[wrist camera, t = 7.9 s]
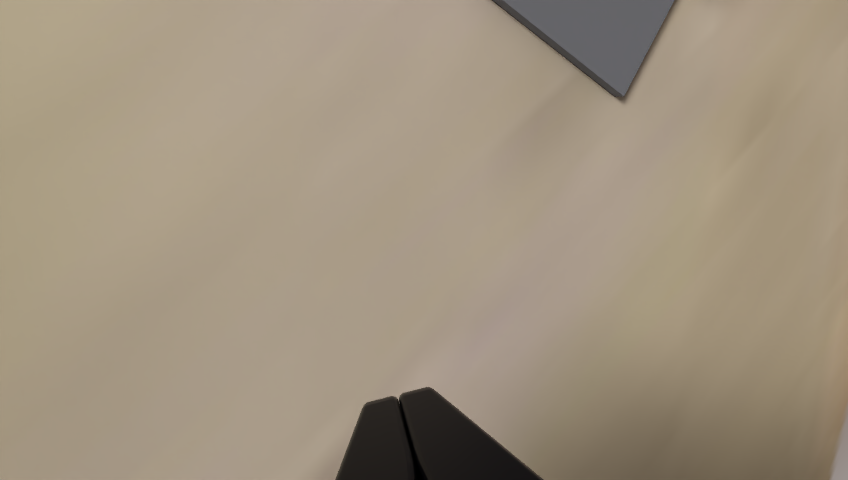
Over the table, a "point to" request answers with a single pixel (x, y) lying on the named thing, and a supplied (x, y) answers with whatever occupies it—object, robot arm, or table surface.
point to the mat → (595, 33)
